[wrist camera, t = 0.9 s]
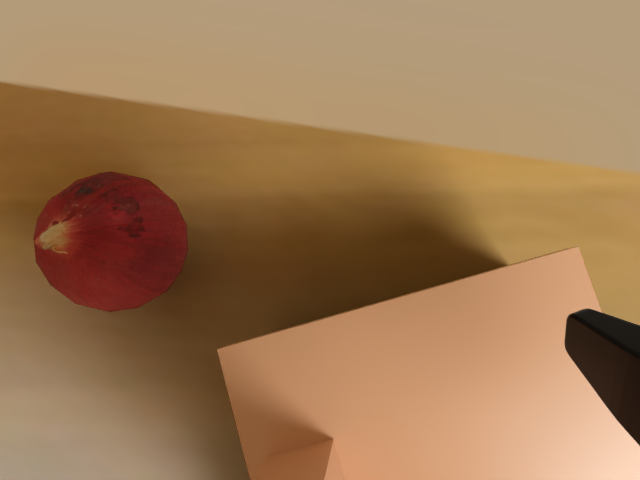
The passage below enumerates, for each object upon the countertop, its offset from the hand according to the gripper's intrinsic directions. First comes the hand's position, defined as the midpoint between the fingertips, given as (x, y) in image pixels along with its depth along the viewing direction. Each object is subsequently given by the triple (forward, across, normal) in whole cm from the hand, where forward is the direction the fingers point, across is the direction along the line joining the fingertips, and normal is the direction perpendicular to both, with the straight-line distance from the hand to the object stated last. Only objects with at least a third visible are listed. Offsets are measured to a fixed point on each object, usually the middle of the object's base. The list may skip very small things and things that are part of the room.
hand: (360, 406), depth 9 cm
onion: (+16, +6, +4) cm, 18 cm away
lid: (+4, -3, +10) cm, 11 cm away
